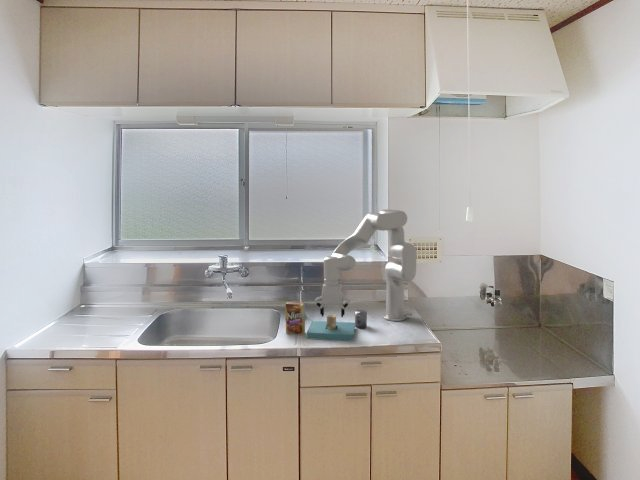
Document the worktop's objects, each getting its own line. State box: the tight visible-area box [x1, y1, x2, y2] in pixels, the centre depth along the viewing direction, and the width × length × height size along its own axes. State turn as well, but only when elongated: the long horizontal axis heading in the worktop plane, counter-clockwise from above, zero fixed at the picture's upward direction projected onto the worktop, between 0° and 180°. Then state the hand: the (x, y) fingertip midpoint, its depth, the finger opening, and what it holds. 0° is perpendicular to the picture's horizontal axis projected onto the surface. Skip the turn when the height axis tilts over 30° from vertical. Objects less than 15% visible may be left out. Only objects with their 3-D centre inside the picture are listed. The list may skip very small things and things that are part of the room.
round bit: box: [354, 309, 368, 330], centre depth 196 cm, size 6×6×8 cm
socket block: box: [306, 320, 356, 342], centre depth 187 cm, size 22×16×3 cm
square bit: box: [326, 313, 337, 330], centre depth 186 cm, size 4×4×9 cm
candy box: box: [285, 301, 306, 336], centre depth 187 cm, size 9×4×15 cm, turn 73°
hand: (332, 315), depth 186 cm, fingers open, 9 cm apart
